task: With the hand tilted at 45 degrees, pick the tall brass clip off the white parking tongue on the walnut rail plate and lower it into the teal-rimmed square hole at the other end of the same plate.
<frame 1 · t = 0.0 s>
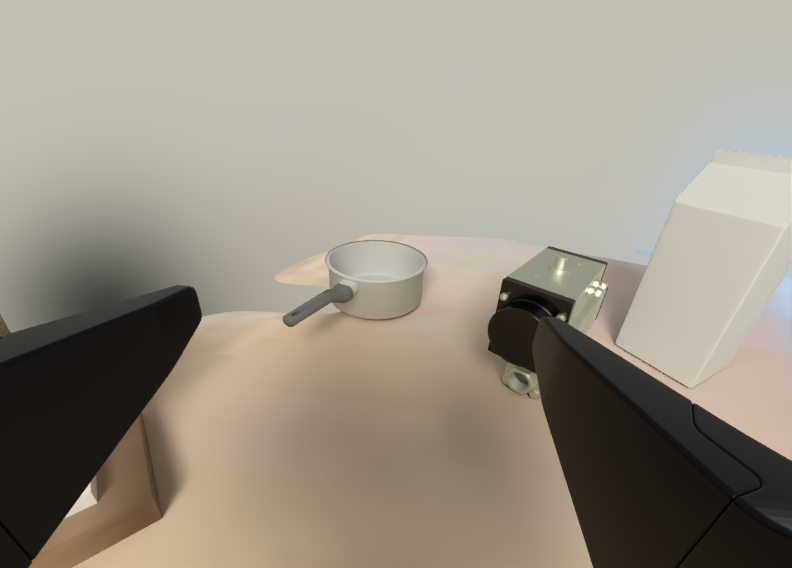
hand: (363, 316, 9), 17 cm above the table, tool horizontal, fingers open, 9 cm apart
milk carton: (667, 357, 35), on the table
pneumatic valve: (530, 385, 31), on the table
saucepan: (356, 319, 39), on the table
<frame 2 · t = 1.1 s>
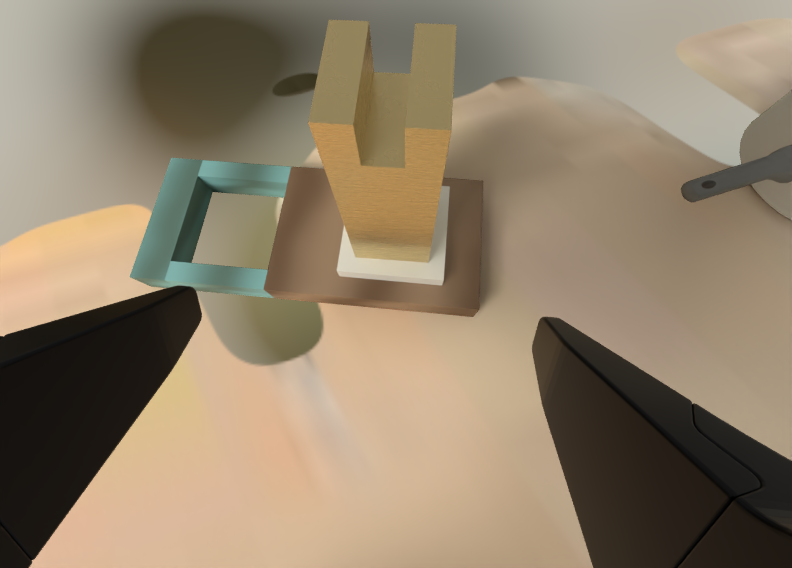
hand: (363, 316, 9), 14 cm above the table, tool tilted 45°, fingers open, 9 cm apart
rail plate: (319, 240, 25), on the table
brass clip: (394, 227, 22), point 3 cm above the table, touching rail plate
saucepan: (752, 193, 26), on the table
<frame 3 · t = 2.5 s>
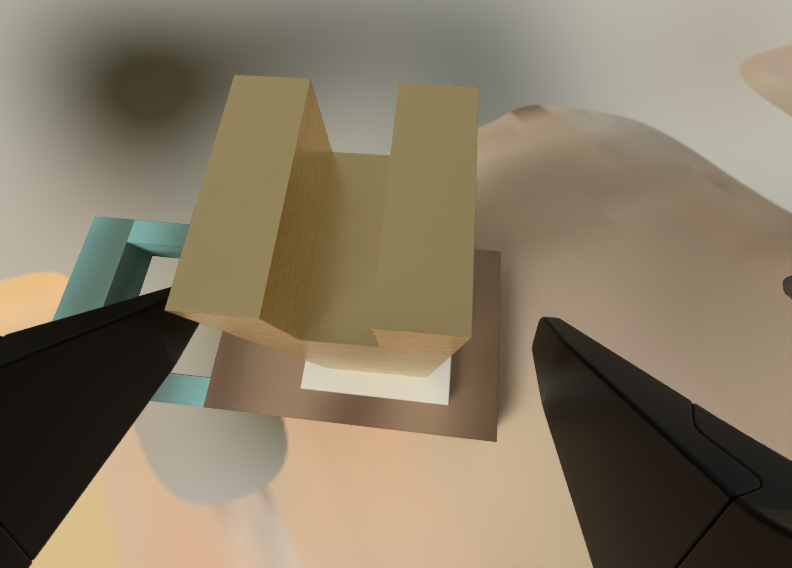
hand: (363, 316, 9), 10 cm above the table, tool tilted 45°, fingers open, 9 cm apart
rail plate: (285, 324, 19), on the table
brass clip: (381, 323, 16), point 3 cm above the table, touching rail plate
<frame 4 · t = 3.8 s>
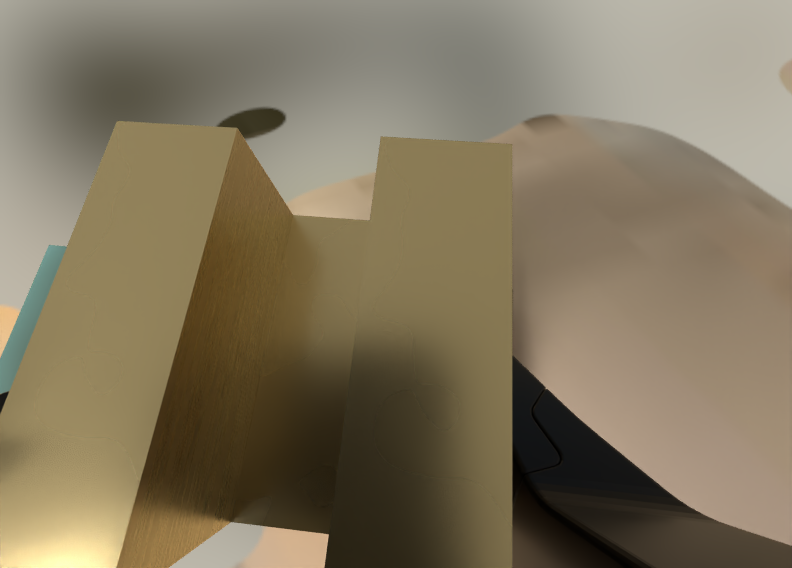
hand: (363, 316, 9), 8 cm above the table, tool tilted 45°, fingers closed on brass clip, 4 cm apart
rail plate: (266, 368, 17), on the table
brass clip: (374, 378, 14), point 3 cm above the table, touching gripper, rail plate
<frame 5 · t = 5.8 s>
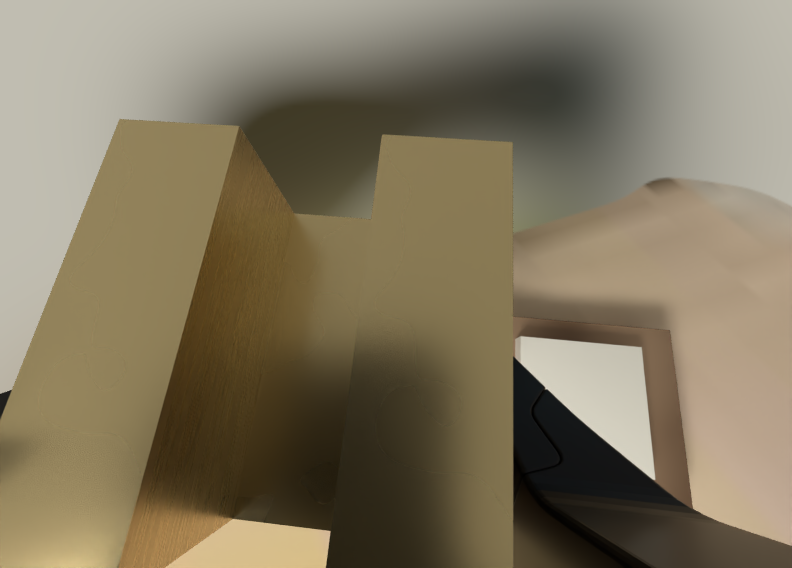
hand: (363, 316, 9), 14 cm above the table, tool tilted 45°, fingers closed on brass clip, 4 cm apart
rail plate: (467, 392, 21), on the table
brass clip: (374, 378, 14), point 8 cm above the table, touching gripper
when the fingers open (7 cm above the table, at t = 7.8 s): brass clip drops 1 cm, resting in rail plate.
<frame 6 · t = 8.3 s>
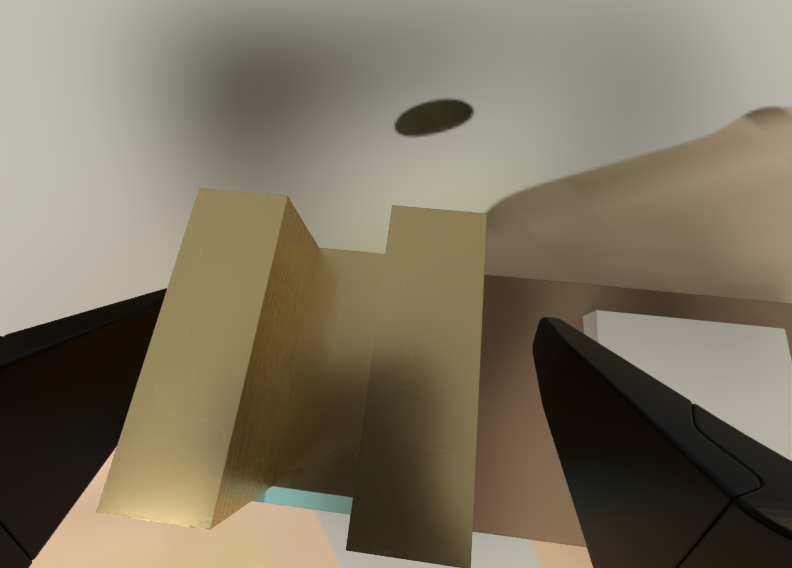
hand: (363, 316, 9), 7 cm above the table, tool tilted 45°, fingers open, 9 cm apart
rail plate: (507, 394, 15), on the table
brass clip: (377, 379, 15), resting in rail plate
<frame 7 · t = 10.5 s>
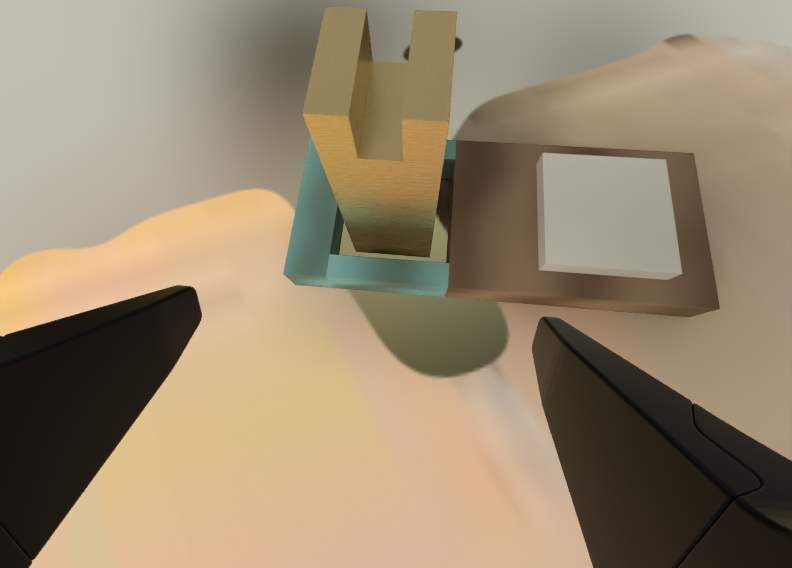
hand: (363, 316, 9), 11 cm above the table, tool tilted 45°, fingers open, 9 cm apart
rail plate: (486, 227, 21), on the table
brass clip: (396, 221, 22), resting in rail plate
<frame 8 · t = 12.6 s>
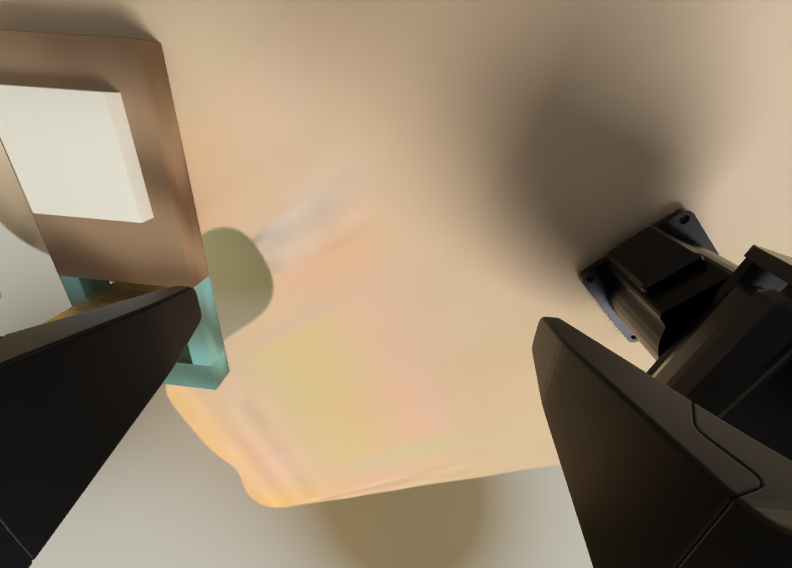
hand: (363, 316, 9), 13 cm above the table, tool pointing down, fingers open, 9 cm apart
rail plate: (137, 238, 24), on the table
brass clip: (158, 307, 26), resting in rail plate
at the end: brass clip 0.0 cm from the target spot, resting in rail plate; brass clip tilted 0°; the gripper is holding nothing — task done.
